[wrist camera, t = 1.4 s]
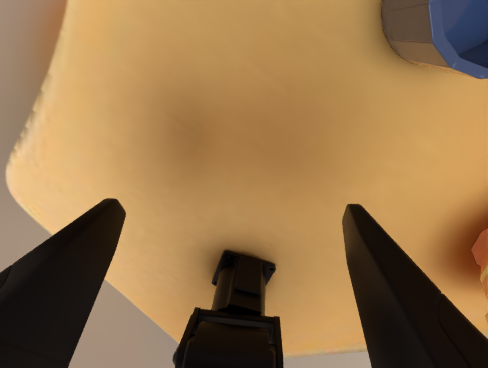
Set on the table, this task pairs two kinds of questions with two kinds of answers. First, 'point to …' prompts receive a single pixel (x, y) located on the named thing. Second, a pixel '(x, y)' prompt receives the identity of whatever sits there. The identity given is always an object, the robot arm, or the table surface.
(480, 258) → the potted cactus
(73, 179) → the table surface
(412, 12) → the cup
